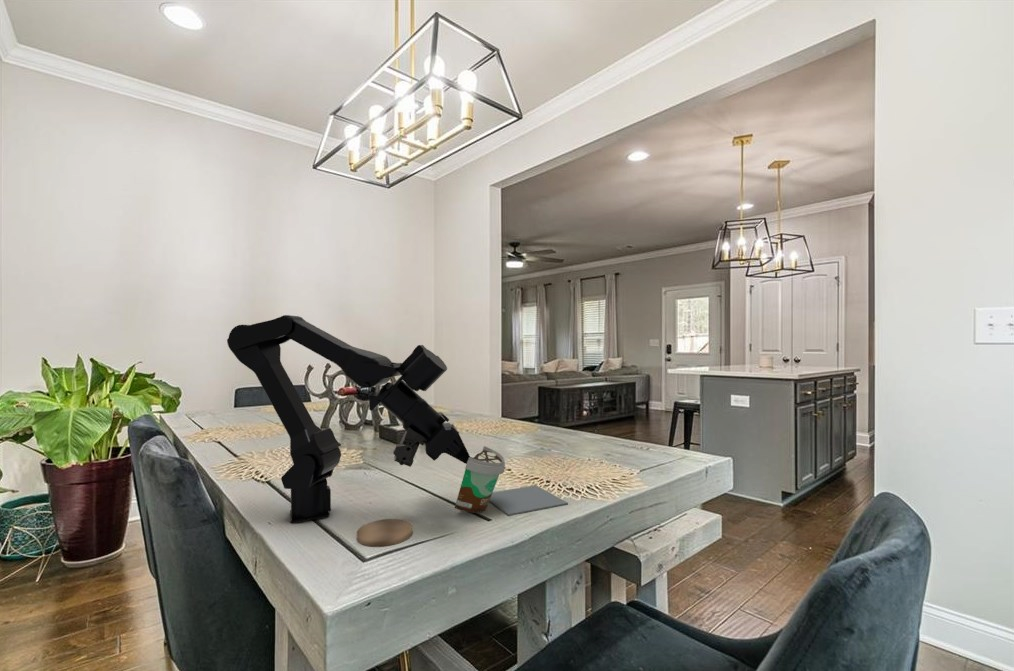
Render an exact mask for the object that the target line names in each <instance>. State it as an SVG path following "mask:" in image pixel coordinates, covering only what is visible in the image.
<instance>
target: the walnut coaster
mask: <svg viewBox="0 0 1014 671" xmlns="http://www.w3.org/2000/svg"><path fill="white" fill-rule="evenodd" d="M412 535H413V524H412V522H410V521H408V520H405V519H399V518H385V519H379V520H374V521H370V522H368V523H365V524H364V525H362V526H360V527H359V528H358V529H357V531H356V540H357V542H358V543H359V544H361V545H363V546H367V547H375V546H379V547H387V545H389V546H393V545H397V544H399V543H403V542H404V541H407V540H408V539H409V538H411V537H412Z"/></svg>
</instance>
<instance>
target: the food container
mask: <svg viewBox="0 0 1014 671" xmlns="http://www.w3.org/2000/svg"><path fill="white" fill-rule="evenodd" d="M470 457H471V456H470ZM470 457H469V459H468V461H467V464H465V467H464V473H463V477H462V481H461V484H460V486H459V490H458V494H457V497H456V501H455V505H454V509H456V510H460V511H462V512H467V513H475V514H476V513H477V514H479V513H483V512H485V511H486V510H487V508H488V505H489V503H490V502H489V500H490V498H491V495H492V493H493V492H494V489H495V488H496V485H497V482H498V479H499V477H500V475H502V474H504V472H505V470H506V469H505V466H506V462H505V457H504V456H503V455H502V454H501V453H499V452H498V451H497V450H494V449H493V448H490V447H487V446H485V445H483V448H482V450H481V452H480V453H477V454H476V455H475V456H474V457H471V458H470Z"/></svg>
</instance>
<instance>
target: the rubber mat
mask: <svg viewBox="0 0 1014 671" xmlns="http://www.w3.org/2000/svg"><path fill="white" fill-rule="evenodd" d="M489 503H491V504H492V505H493V506H495V507H496V508H497V509H498V510H500V511H501V512H503V513H504V514H505V515H506V516H508V517H510V516H514V515H515V516H516V515H519V514H525V513H530V512H536V511H542V510H545V509H551V508H557V507H561V506H565V505H569V502H567V501H566V500H564V499H562V498H560V497H558V496H557V495H555V494H553V493H551V492H549V491H547V490H546V489H544V488H542V487H540V486H538V485H537V484H535V485H528V486H524V487H523V486H522V487H517V488H510V489H505V490H499V491H493V493H492V495H491V498H490V500H489Z"/></svg>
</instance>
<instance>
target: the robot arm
mask: <svg viewBox="0 0 1014 671" xmlns="http://www.w3.org/2000/svg"><path fill="white" fill-rule="evenodd" d="M289 341H294V342H296V343H297V344H299V345H301V346H303V347H305V348H306V349H309V350H310V351H311V352H313V353H315V354H317V355H319V356H321V357H323V358H324V359H326V360H328V361H330V362H331V363H334V364H335V365H336V366H338V367H339V368H340V369H341V371H342V372H343V373H344V375H345V376H346V377H348V378H349V380H351V381H352V382H354V383H355V384H357V386H359V387H361V388H365V389H367V388H369V389H370V388H373V387H377V386H382V387H381V388H380V389H378V391H377V392H373V391H372V392H370V394H369V395H368V401H369V402H368V403H369V405H368V410H369V411H373V410H375V409H376V408H377V406H378V405H381V406H383V407H384V408H385V409H386V410H387V411H388V412H389V413H390V414H391V415H392V416H394V417H395V418H396V420H398V421H400V423H401V424H402V429H404V430H405V432H404V433H403V436H402V437H401V440H400V442H399V443H397V444H396V445H395V448H394V450H393V451H392V452H393V453H392V454H393V455H394V459H393V460H394V462H397V463H398V464H399V465H400V466H404V465H405V466H407V467H409V468H410V467H412V466H413V464H414V458H415V456H416V453H417V451H418V449H419V446H420V445H421V446H424V451H425V454H426V456H428V457H429V458H430V459H432V461H434V462H435V461H436V460H438V458H440V456H441V455H442V454H446V455H449V456H451V457H452V458H454V459H456V460H458V461H459V462H462V463H463V464H465V465H466V464H467V461H468V459H469V457H470V458H472V456H470V453H469V452H468V450H467V448H466V446H465V443H464V442H463V439H462V437H461V435H460V432H459V430H458V429H457V427H455V425H454V424H453V423H452V424H451V422H449V421H450V419H449V417H447V415H446V414H444V413H443V412H442V411H441V412H440V411H437V410H435V409H434V407H432V406H431V405H430V404H429V403H428V401H427V400H425V398H422V396H421V395H419V394H418V393H417V392H419V391H423V392H427V391H428V390H429V389H430V388H431V387H432V385H433V384H435V383H436V381H438V380H439V378H440V377H441V376H443V374H445V372H447V370H448V366H447V365H446V363H445V362H444V361H443V359H442V358H441V357H439V355H436V354H435V353H434V352H432V351H431V350H429V349H427V347H425V346H424V345H423V344H418V345H417V346H416V347H415V348H414V349H413V351H412V352H411V353H410V354H409V355H408V356H407V358H405V360H403V362H393V361H392V360H391V359H390V358H389V357H388V356H386V355H383V354H380V353H377V352H373V351H370V350H366V349H364V348H363V349H361V348H359V347H355V346H352V345H350V344H349V343H347V342H345V341H343V340H341V339H339V338H338V337H336V336H334V335H332V334H330V333H328V332H327V331H325V330H323V329H321V328H320V327H317V326H316V325H314V324H312V323H310V322H308V321H306V320H305V319H304V318H303V317H301V316H299V315H291V314H290V315H289V314H285V315H281V316H279V317H277V318H274V319H270V320H265V321H260V322H256V323H252V324H238V325H236V326H234V327H233V328H232V329H231V331H230V332H229V334H228V338H227V339H226V343H227V346H228V348H229V350H230V351H231V353H233V354H232V355H234V356H235V358H236V359H237V360H238V362H239V363H241V364H242V365H244V366H245V367H246V368H248V369H249V370H250V371H252V372H253V373H254V374H255V376H256V377H257V380H258V382H259V383H260V385H261V387H262V389H263V391H264V393H265V394H266V396H267V398H268V400H269V402H270V403H271V406H272V407H273V409H274V411H275V412H276V414H277V416H278V418H279V420H280V422H281V424H282V425H283V427H284V429H285V431H286V433H287V434H288V436H289V440H290V444H289V445H290V448H289V451H290V452H289V454H290V458H291V460H292V464H293V465H292V466H291V467H290V468H289V469H288V470H287V471H286V472H284V474H283V475H282V476H281V478H280V480H281V482H282V483H281V484H282V486H283V488H284V489H285V490H290V510H289V516H290V519H289V520H290V524H295V523H302V522H307V521H314V520H318V519H326V518H329V516H330V511H331V510H332V504H331V503H332V499H331V498H332V497H331V496H332V495H331V494H332V492H331V487H330V485H328V478H331V477H332V475H333V473H334V470H335V468H336V467H338V465H339V464H340V461H341V457H342V452H341V449H340V447H341V446H342V443H340V442H339V441H338V440H337V438H336V436H335V434H334V432H333V430H332V428H331V427H328V428H324V429H322V428H320V427H319V426H317V425H316V423H315V421H314V420H313V418H312V416H311V414H310V413H309V410H307V408H306V405H305V404H304V402H303V400H302V398H301V397H300V394H299V393H298V391H297V389H296V387H295V386H294V384H293V382H292V380H291V379H290V376H289V375H288V373H287V371H286V370H285V366H284V365H283V364H282V361H281V351H282V350H281V346H280V345H282V344H285V343H287V342H289ZM399 376H400V377H399ZM393 377H398V379H397V380H395V381H394V382H389V381H390V380H391V379H392V378H393ZM446 422H447V423H446Z"/></svg>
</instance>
